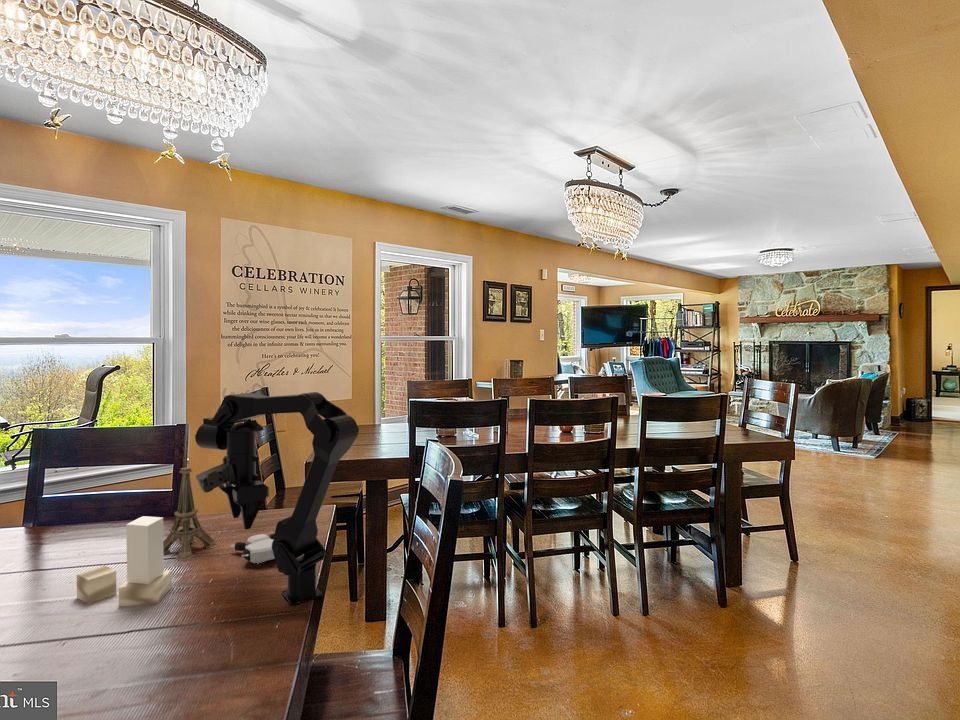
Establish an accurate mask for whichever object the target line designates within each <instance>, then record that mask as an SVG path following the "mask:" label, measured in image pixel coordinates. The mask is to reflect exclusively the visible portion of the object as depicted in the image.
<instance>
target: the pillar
mask: <svg viewBox="0 0 960 720" xmlns="http://www.w3.org/2000/svg"><path fill="white" fill-rule="evenodd" d="M125 527H126V529H125V530H126V531H125V532H126V581H127V583H139V584H149V583H151V582H152V581H154V580H155V579H157V578H158V577H159V576H161V575H162V574H164V571H165V570H164V569H165V567H164V565H165V563H164V560H165V559H164V556H165V555H164V548H163V542H164V517H162V516H161V517H160V516H148V515H147V516H146V515H145V516H144V515H142V516H140V517H138V518H136V519H135V520H132V521H130V522H128V523H126V525H125Z"/></svg>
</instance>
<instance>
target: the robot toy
mask: <svg viewBox="0 0 960 720" xmlns="http://www.w3.org/2000/svg"><path fill="white" fill-rule="evenodd" d="M273 535H274V533H271V534H270V535H269V536H268V535H267V534H266V533H261V534H255V535H252V536H249V537H248V538H247V540H246V542H242V541H240V542H239V541H238V542H236V543H234V544H231V545H230V548H231V549H234V551H238V552H242V554H241V558H244V559H245V560H247V561H249V562H250V563H253V564H255V563H257V564H256V565H260V564H259V563H262V562H264V563H265V562H266V561H272V560H275V557H274V554H273V550H272V542H273V540H274V539H271V537H272V536H273ZM262 564H263V563H262Z"/></svg>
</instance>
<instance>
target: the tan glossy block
mask: <svg viewBox="0 0 960 720" xmlns="http://www.w3.org/2000/svg"><path fill="white" fill-rule="evenodd" d="M172 574H173V573H172V570H171V569H168V570H164V574H162V575H161V576H159V577H158V578H157V579H155V580H154V581H152V582H151V583H149V584H139V583H127V580H125V581H124V582H123V583H122V584H121V585H120V586H119V587H118V606H119V607H128V606H142V605H155V604H159V603H160V602H161V600H162V599H163V598H164V597H165V596H166V595H167V593H169V591H170V590H171V588H172V586H173V585H172V584H173V583H172Z"/></svg>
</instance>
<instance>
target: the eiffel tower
mask: <svg viewBox="0 0 960 720" xmlns="http://www.w3.org/2000/svg"><path fill="white" fill-rule="evenodd" d="M184 453H185V459H184V467H182V468H180V470H179V472H178V473H180V474H181V480H180V481H181V482H180V489H179V497H178V498H179V499H178V507H177V511H175V512H174V514H173V515H174V517H175V520H174V523H173V526H172V528H171V529H169V534H168V535H167V537H165V538H164V539H163V548H164V556H165V555H168V554H170V553H171V550H170V548H171V547H172V546H173V544H174V543H175V542H176V541H177V540H180V542H179V543H180V544H179V545H181V546H180V550H179V553H178V556H177V557H176V558H175V560H176V561H181V560H182V561H181V562H185V560H186V561H188V560H190V559H192V557H193V558H194V557H195V555H194V554H193V553H192V549H191V546H190V545H191V544H190V543H192V542H194V541H196V542H197V540H195V538H197V539H198V540H199V541H200V542H201V543H202V544H203V545H202V548H203V547H207V548H211V547H213V546H215V545H217V544H218V543H216V541H215V540H214V539H213V538H212V537H211V536H210V535H209V534H208V533H207V532H206V531H205V530H204V529H203V527H204V525H201V523H200V521H199V519H198V515H197V514H198V512H199V510H198V508H195V501H194V497H193V489H192V482H191V476H190V473H193V470H192V467H188V465H187V451H185V452H184ZM191 521H192V523H193V524H191ZM181 523H182V526H180V525H181ZM194 537H195V538H194ZM194 543H195V542H194ZM192 544H193V543H192ZM207 548H206V549H207Z"/></svg>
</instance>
